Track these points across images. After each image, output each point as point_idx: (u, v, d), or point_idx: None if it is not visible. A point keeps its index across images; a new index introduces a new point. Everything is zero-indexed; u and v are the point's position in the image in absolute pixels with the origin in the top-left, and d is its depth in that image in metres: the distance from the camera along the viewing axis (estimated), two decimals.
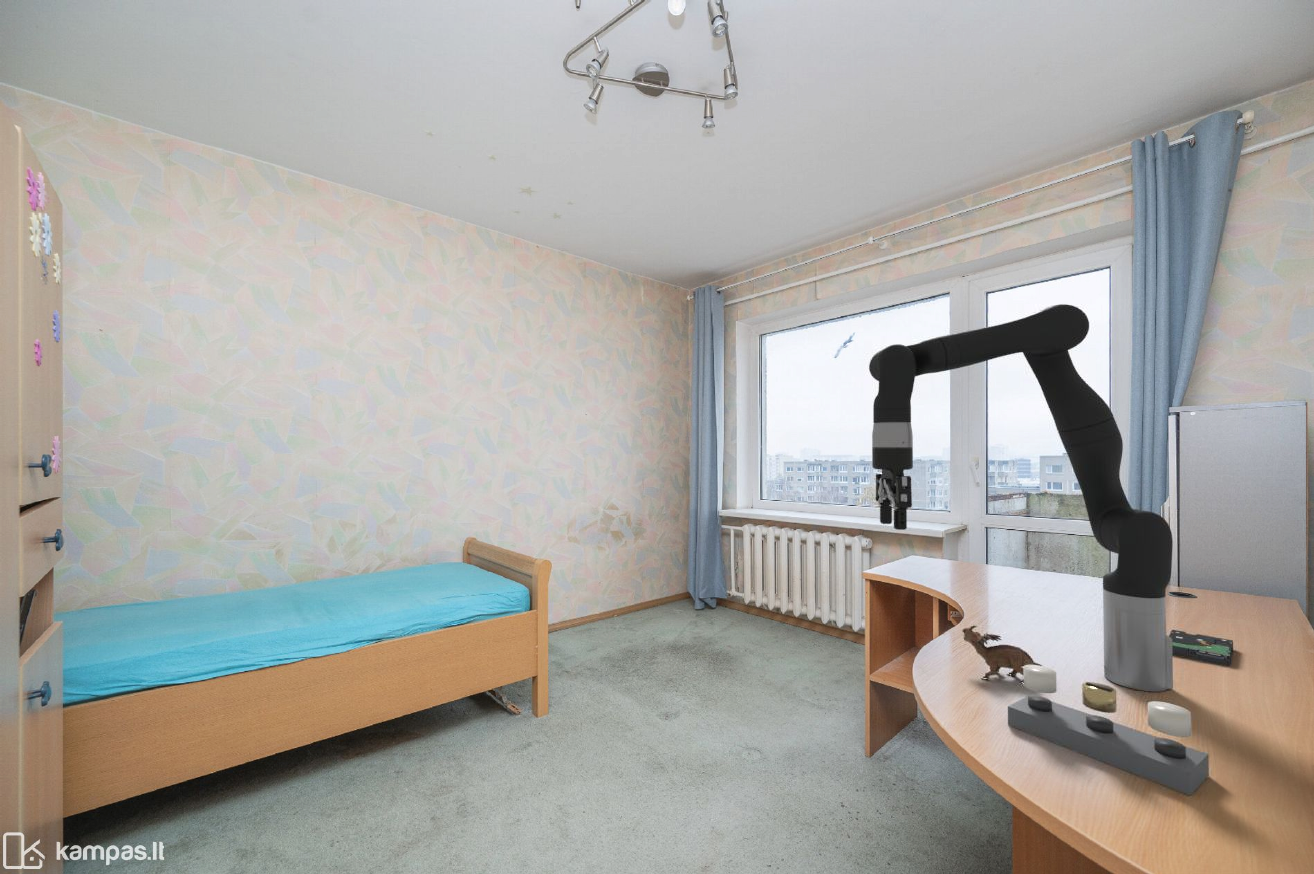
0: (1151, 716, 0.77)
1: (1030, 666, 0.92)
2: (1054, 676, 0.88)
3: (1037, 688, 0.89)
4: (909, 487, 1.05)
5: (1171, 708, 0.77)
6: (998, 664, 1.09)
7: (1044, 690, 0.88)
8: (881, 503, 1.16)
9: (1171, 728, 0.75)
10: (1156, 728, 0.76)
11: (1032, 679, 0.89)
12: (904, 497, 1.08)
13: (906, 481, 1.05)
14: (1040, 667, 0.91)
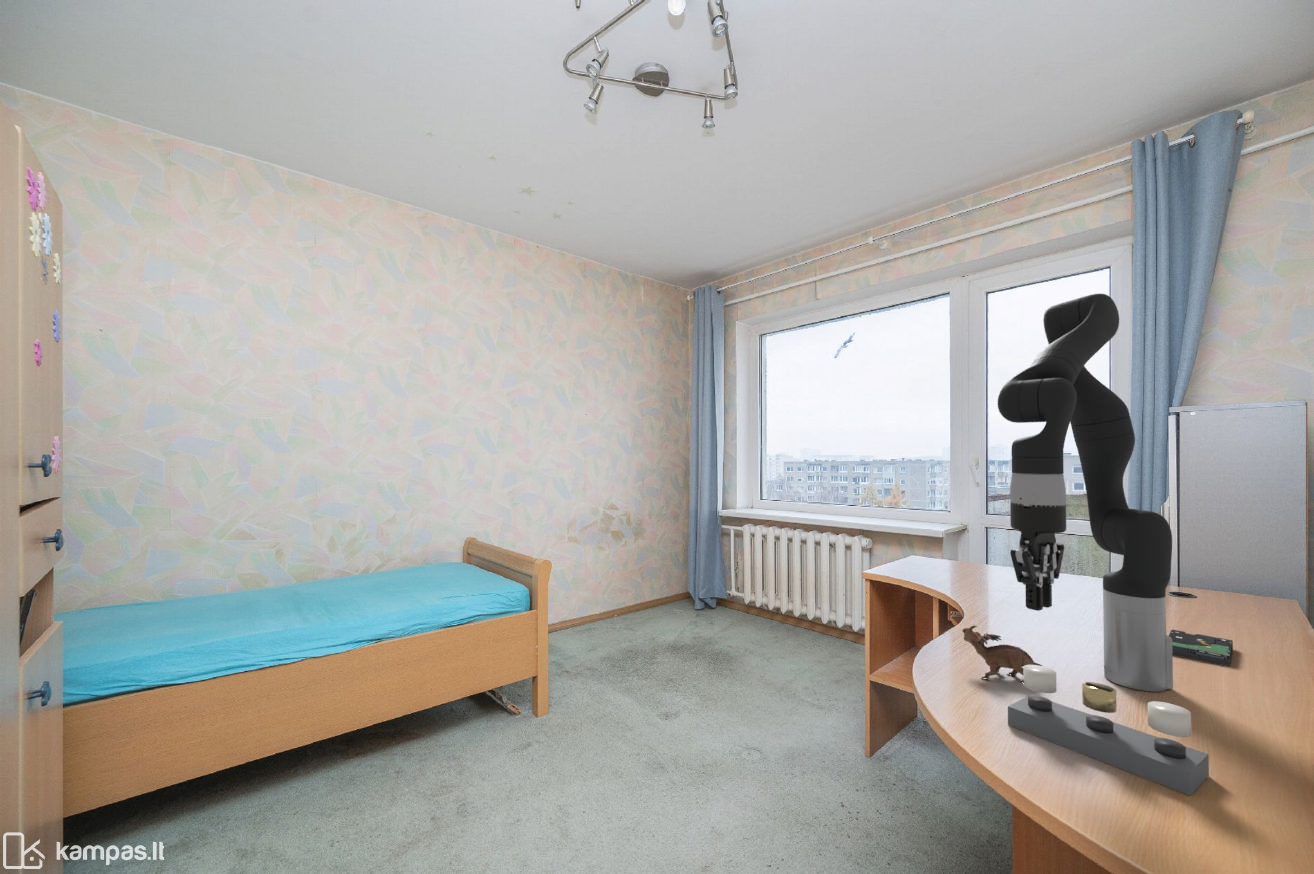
0: (1151, 716, 0.77)
1: (1030, 666, 0.92)
2: (1054, 676, 0.88)
3: (1037, 688, 0.89)
4: None
5: (1171, 708, 0.77)
6: (998, 664, 1.09)
7: (1044, 690, 0.88)
8: None
9: (1171, 728, 0.75)
10: (1156, 728, 0.76)
11: (1032, 679, 0.89)
12: None
13: None
14: (1040, 667, 0.91)
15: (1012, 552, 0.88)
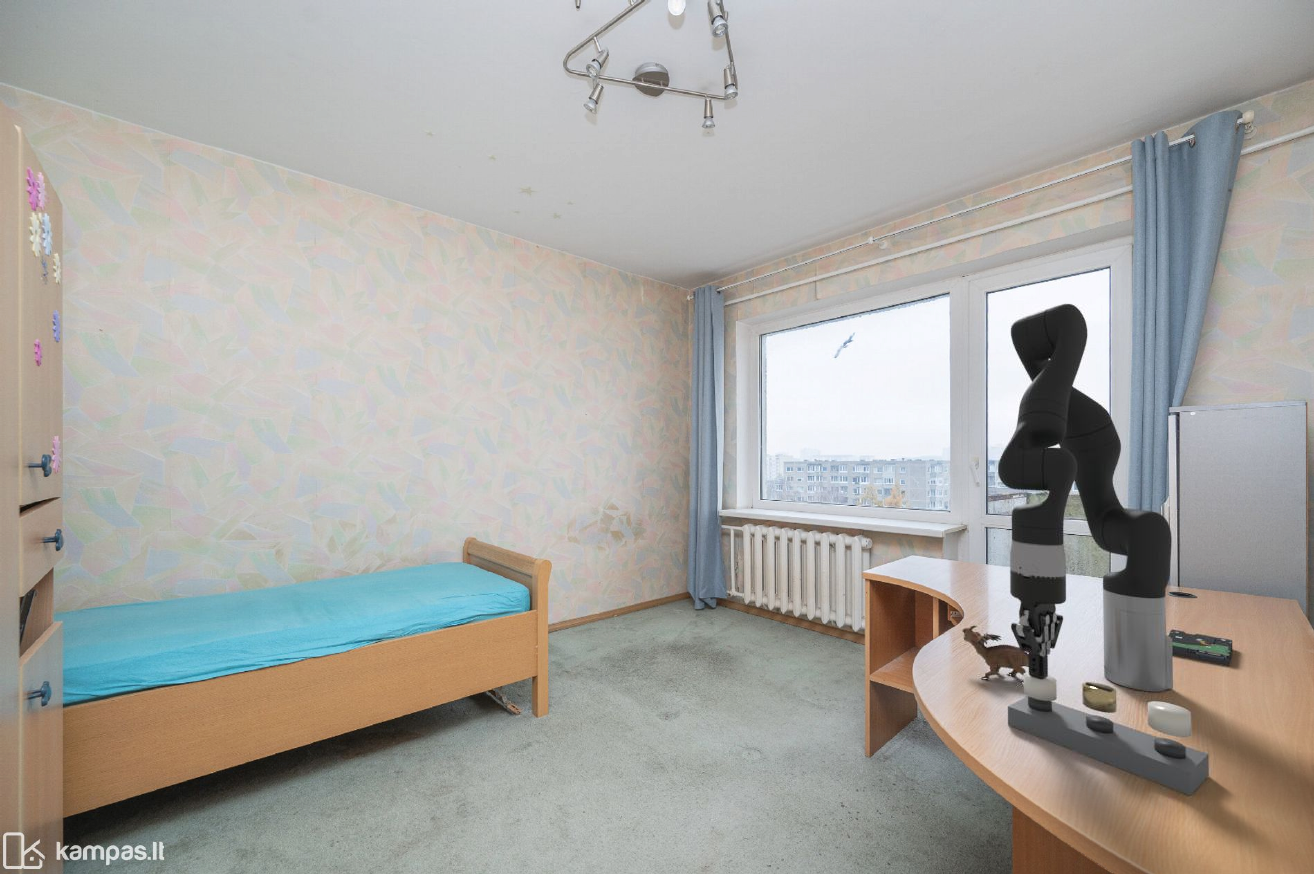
0: (1151, 716, 0.77)
1: None
2: (1054, 684, 0.88)
3: (1037, 695, 0.89)
4: None
5: (1171, 708, 0.77)
6: (998, 664, 1.09)
7: (1044, 698, 0.88)
8: None
9: (1171, 728, 0.75)
10: (1156, 728, 0.76)
11: (1032, 687, 0.89)
12: None
13: None
14: None
15: (1013, 627, 0.88)
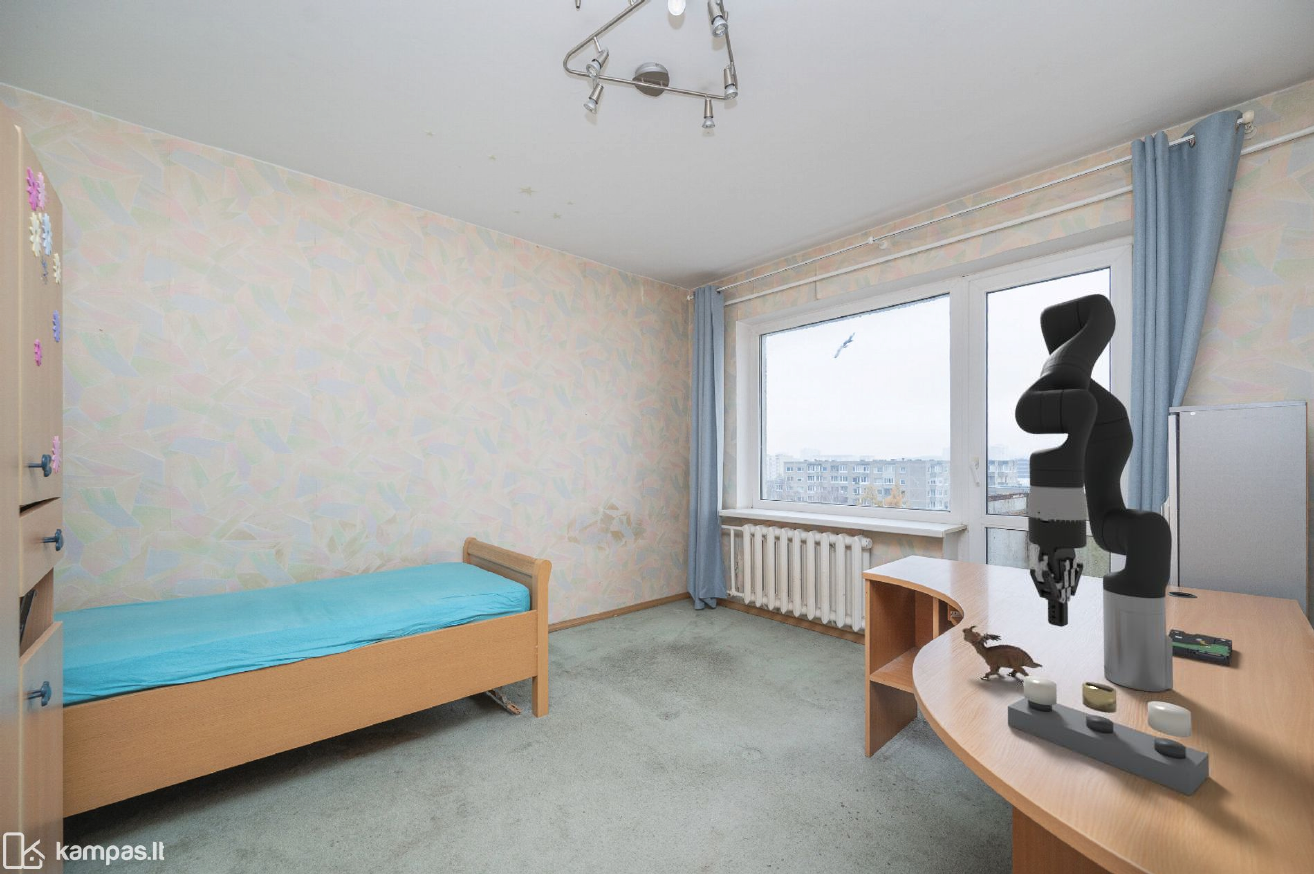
0: (1151, 716, 0.77)
1: (1030, 677, 0.92)
2: (1054, 688, 0.88)
3: (1037, 700, 0.89)
4: None
5: (1171, 708, 0.77)
6: (998, 664, 1.09)
7: (1044, 702, 0.88)
8: None
9: (1171, 728, 0.75)
10: (1156, 728, 0.76)
11: (1033, 691, 0.89)
12: None
13: None
14: (1040, 678, 0.91)
15: (1031, 572, 0.86)
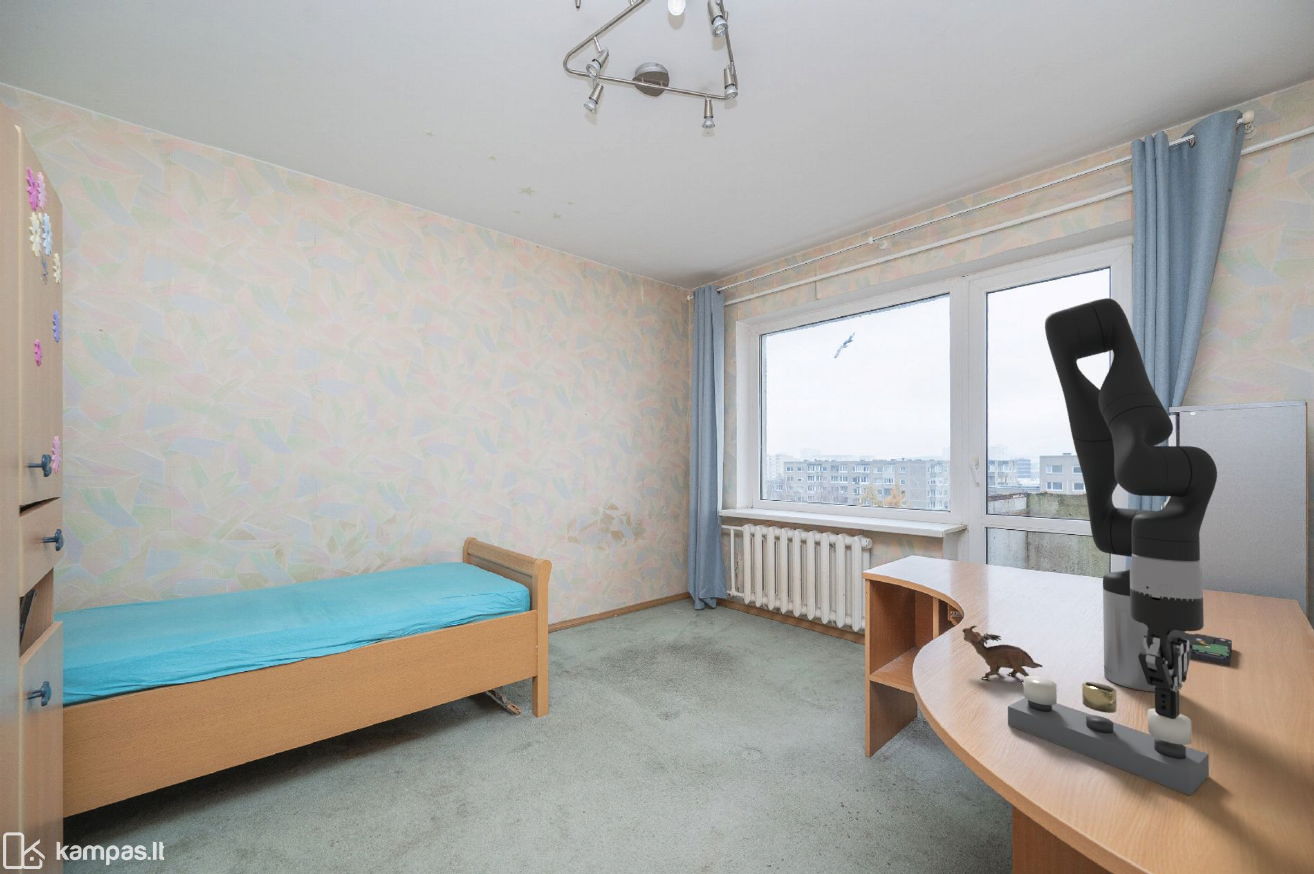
0: (1151, 723, 0.77)
1: (1030, 677, 0.92)
2: (1054, 688, 0.88)
3: (1037, 700, 0.89)
4: None
5: None
6: (998, 664, 1.09)
7: (1044, 702, 0.88)
8: None
9: (1171, 735, 0.75)
10: (1156, 735, 0.76)
11: (1033, 691, 0.89)
12: None
13: None
14: (1040, 678, 0.91)
15: (1141, 657, 0.75)
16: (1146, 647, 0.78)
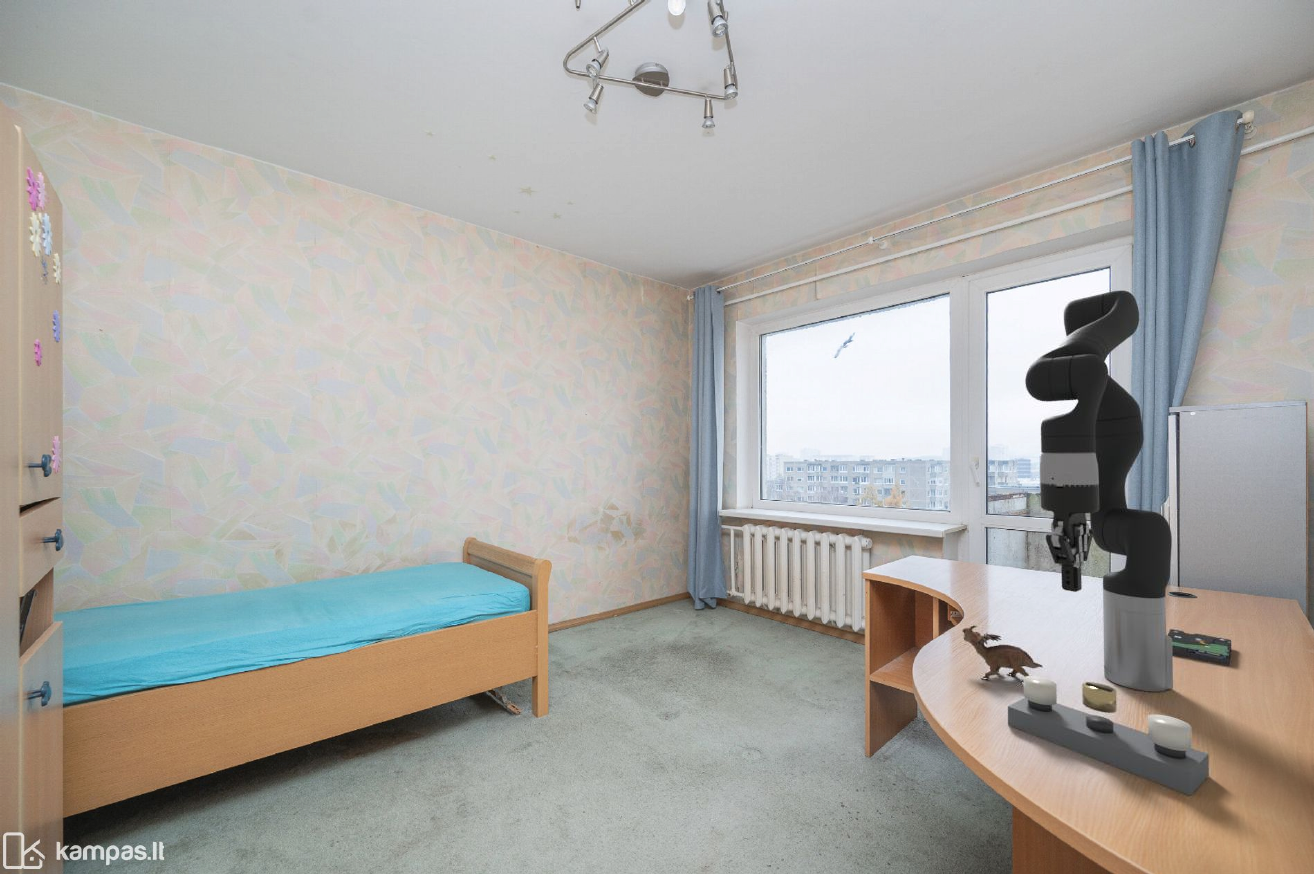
0: (1151, 729, 0.77)
1: (1030, 677, 0.92)
2: (1054, 688, 0.88)
3: (1037, 700, 0.89)
4: None
5: (1172, 722, 0.77)
6: (998, 664, 1.09)
7: (1044, 702, 0.88)
8: None
9: (1171, 742, 0.75)
10: (1156, 741, 0.76)
11: (1033, 691, 0.89)
12: None
13: None
14: (1040, 678, 0.91)
15: (1047, 538, 0.86)
16: (1053, 532, 0.89)
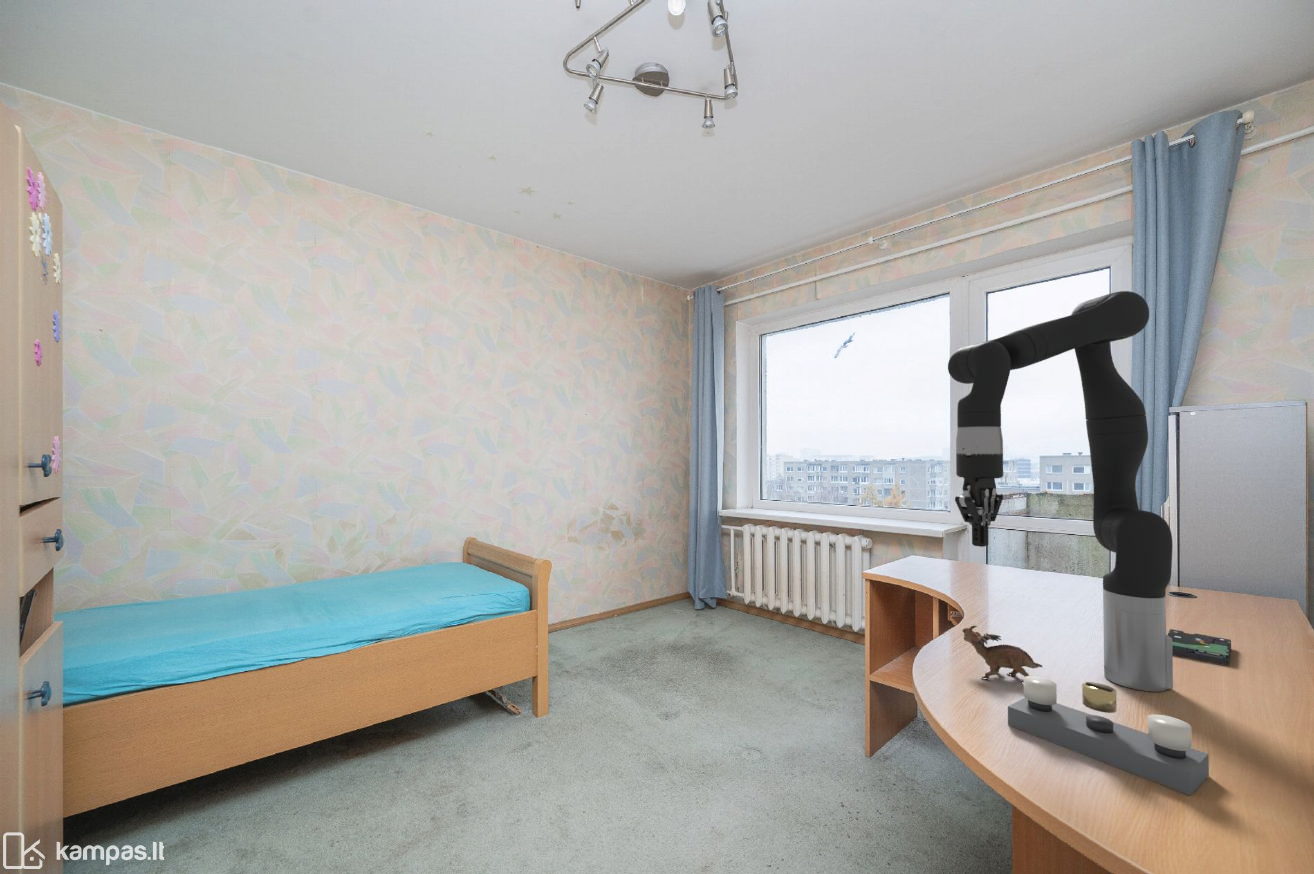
0: (1151, 729, 0.77)
1: (1030, 677, 0.92)
2: (1054, 688, 0.88)
3: (1037, 700, 0.89)
4: None
5: (1172, 722, 0.77)
6: (998, 664, 1.09)
7: (1044, 702, 0.88)
8: None
9: (1171, 742, 0.75)
10: (1156, 741, 0.76)
11: (1033, 691, 0.89)
12: None
13: None
14: (1040, 678, 0.91)
15: (956, 499, 1.00)
16: None
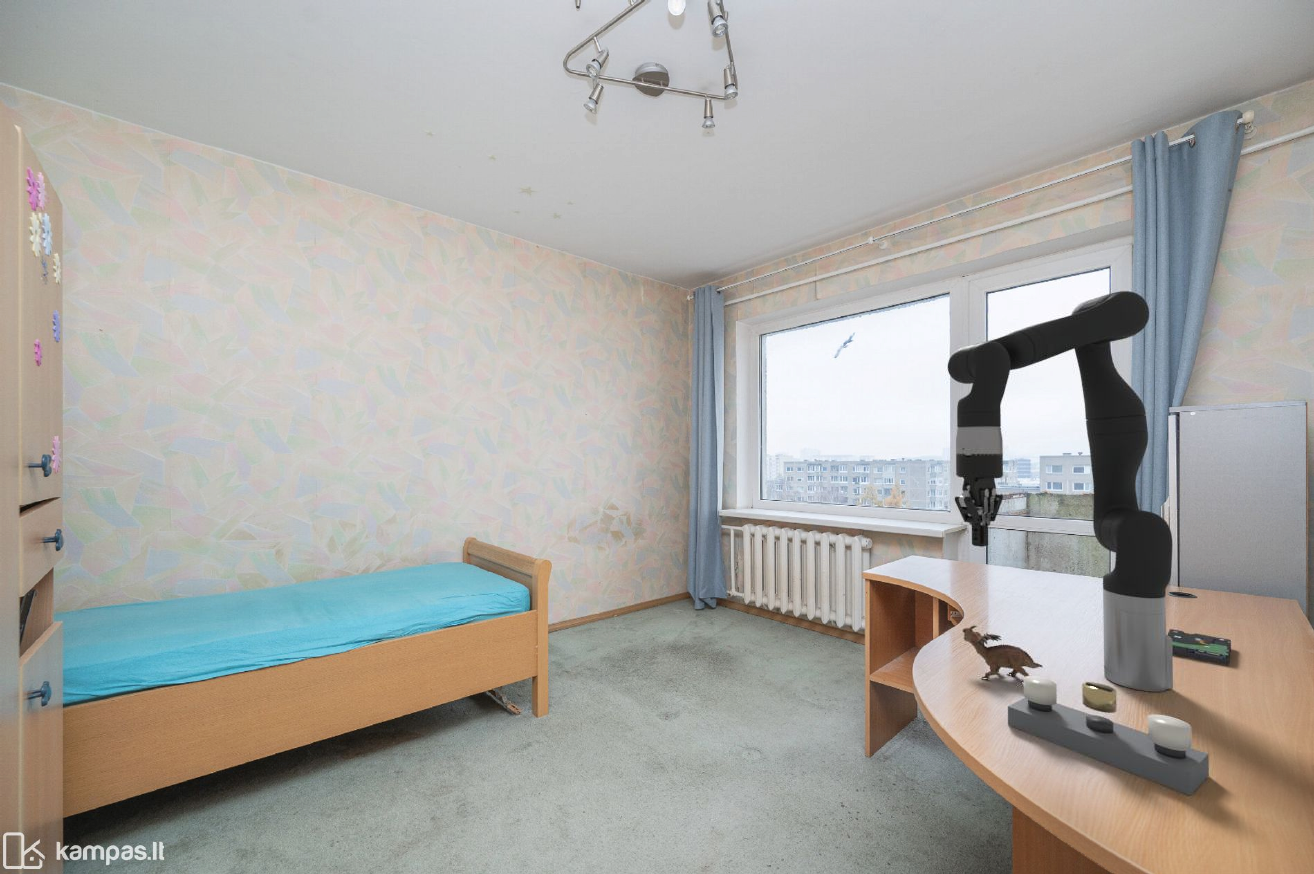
0: (1151, 729, 0.77)
1: (1030, 677, 0.92)
2: (1054, 688, 0.88)
3: (1037, 700, 0.89)
4: None
5: (1172, 722, 0.77)
6: (998, 664, 1.09)
7: (1044, 702, 0.88)
8: None
9: (1171, 742, 0.75)
10: (1156, 741, 0.76)
11: (1033, 691, 0.89)
12: None
13: None
14: (1040, 678, 0.91)
15: (956, 499, 1.00)
16: None
